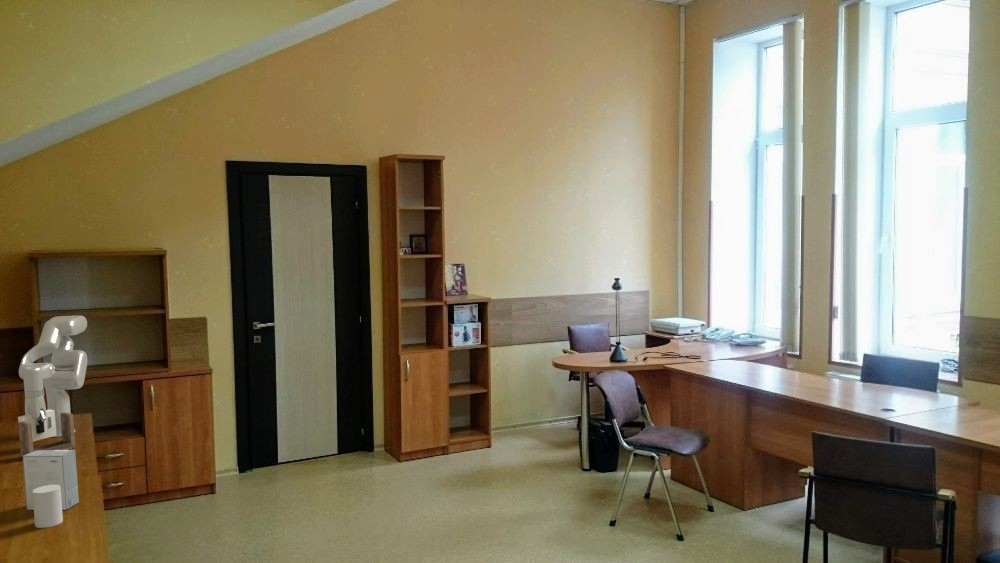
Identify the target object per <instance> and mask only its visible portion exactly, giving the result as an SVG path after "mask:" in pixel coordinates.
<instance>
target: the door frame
mask: <svg viewBox="0 0 1000 563" xmlns="http://www.w3.org/2000/svg"><path fill="white" fill-rule="evenodd" d="M70 413H71V412H70ZM70 413H65V412H62V413H60V418H61V433H62V436H61V440H59V441H53V442H51V443H50V442H49V443H47V444H42V445H39V446H35V447H34V442H33V437H32V423H28V422H23V421H21V422H18V435H19V436H18V437H19V446H20V447H19V449H20V458H21V457H23V456H24V455H27V454H29V453H31V452H34V451H36V450H69V449H70V450H73V449H72V448H74V449H76V441H75V440H76V439H75V438H76V436H75V433H74V429H75V426H74V425H75V424H74V423H75V422H74V421H75V420H74V414H73V413H71V414H70Z"/></svg>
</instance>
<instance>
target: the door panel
mask: <svg viewBox="0 0 1000 563" xmlns="http://www.w3.org/2000/svg"><path fill="white" fill-rule="evenodd" d="M39 418H41V416H40V417H39ZM17 420H18V422H21V421H23V422H28V423H32V437H33V443H34V442H37V441H40V440H45V439H48V438H53V437H52V436H56V423H55V412H54V410H51V409H49V410H48V409H46V420H45V421H44V430H45V432H43V433H39V434H37V430H36V425H37V422H36V419H33V418H32V416H31V415H25V414H24V415H20V416H17ZM40 420H41V419H39V421H40Z"/></svg>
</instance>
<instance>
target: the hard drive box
mask: <svg viewBox="0 0 1000 563" xmlns="http://www.w3.org/2000/svg"><path fill="white" fill-rule="evenodd" d="M22 466H23V477H24V478H23V479H24V480H23V481H24V491H25V492H24V493H25V503H26V510H27V511H32V510H33V511H34V504H33V490H34V489H36V488H38V487H42V486H46V485H60V487H61V501H62V511H66V510H68V509H70V508H72V507H73V506H75V505H77V504H79V503H80V496H79V485H78V483H79V482H78V472H77V459H76V449H70V450H36V451H34V452H31V453H29V454H27V455H24V456H23V458H22Z"/></svg>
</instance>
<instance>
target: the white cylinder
mask: <svg viewBox="0 0 1000 563" xmlns="http://www.w3.org/2000/svg"><path fill="white" fill-rule="evenodd" d="M33 504H34V510H33V514H34V516H33V517H34V518H33V519H34V526H35V528H38V529H39V528H40V529H43V528H51V527H54V526H57V525H60V524H61V523H63V522H64V517H63V510H62V501H61V487H60V485H46V486H42V487H38V488H36V489H34V490H33Z"/></svg>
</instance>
